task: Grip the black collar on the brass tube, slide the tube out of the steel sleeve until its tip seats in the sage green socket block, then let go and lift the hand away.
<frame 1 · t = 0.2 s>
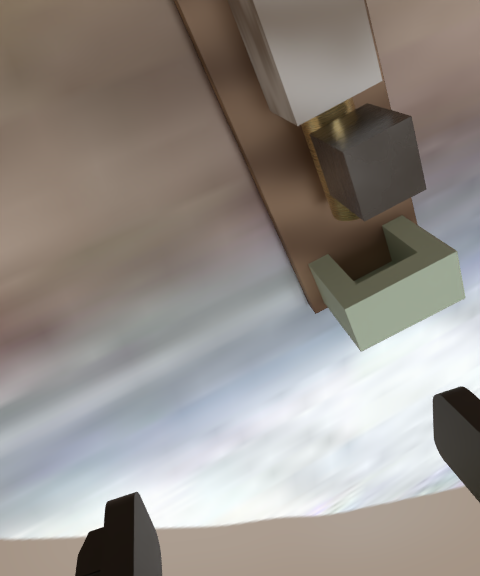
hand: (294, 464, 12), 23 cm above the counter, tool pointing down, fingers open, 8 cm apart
socket block: (382, 280, 32), point 5 cm above the counter
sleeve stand: (312, 132, 30), on the counter
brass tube: (332, 84, 23), point 6 cm above the counter, slide at 0.0 cm
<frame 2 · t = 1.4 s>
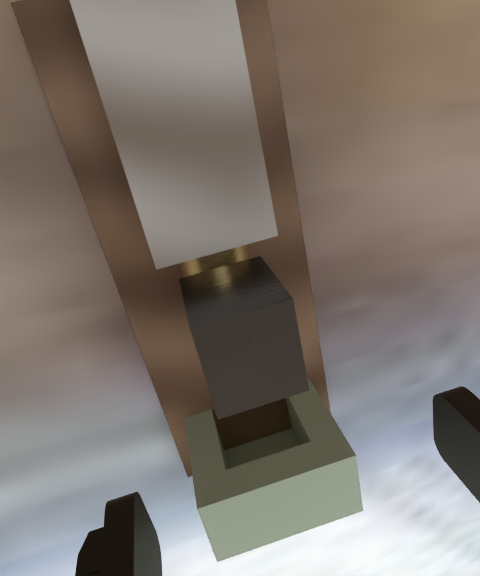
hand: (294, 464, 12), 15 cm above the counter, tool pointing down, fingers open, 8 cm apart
socket block: (267, 461, 25), point 5 cm above the counter
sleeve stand: (211, 263, 25), on the counter
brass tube: (211, 226, 17), point 6 cm above the counter, slide at 0.0 cm
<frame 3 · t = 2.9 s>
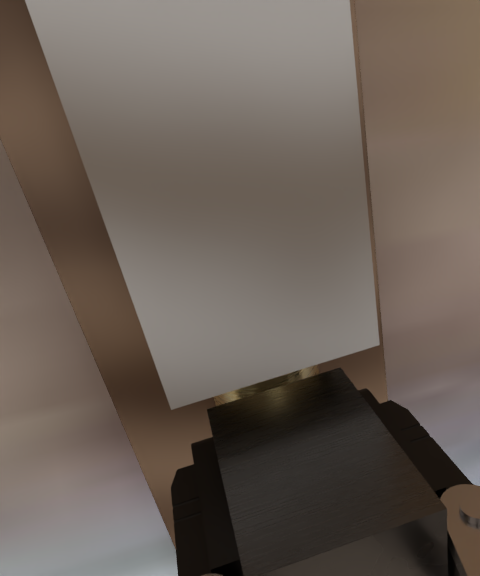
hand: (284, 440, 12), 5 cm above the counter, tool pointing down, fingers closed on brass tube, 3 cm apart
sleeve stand: (243, 343, 17), on the counter
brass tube: (266, 333, 10), point 6 cm above the counter, slide at 0.0 cm, touching gripper
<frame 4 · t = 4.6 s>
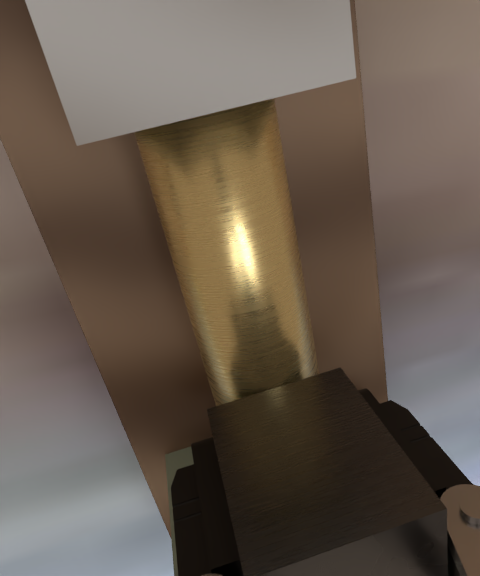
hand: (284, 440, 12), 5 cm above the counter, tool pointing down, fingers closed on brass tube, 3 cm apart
socket block: (302, 530, 15), point 5 cm above the counter
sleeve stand: (208, 200, 15), on the counter
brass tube: (266, 333, 10), point 6 cm above the counter, slide at 5.7 cm, touching gripper
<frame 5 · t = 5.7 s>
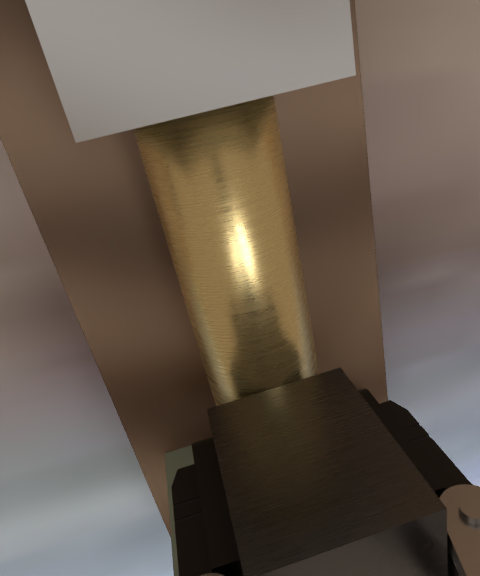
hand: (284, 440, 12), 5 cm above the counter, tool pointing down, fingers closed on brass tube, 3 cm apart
socket block: (302, 529, 15), point 5 cm above the counter
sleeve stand: (208, 198, 15), on the counter
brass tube: (266, 333, 10), point 6 cm above the counter, slide at 5.8 cm, touching gripper
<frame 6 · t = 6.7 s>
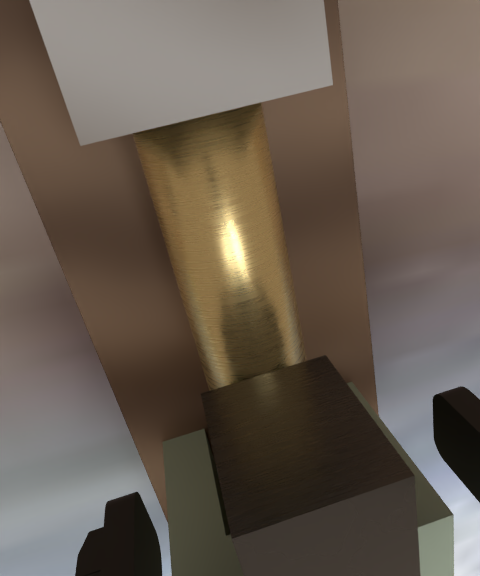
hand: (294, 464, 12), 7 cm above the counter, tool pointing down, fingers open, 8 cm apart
socket block: (292, 513, 16), point 5 cm above the counter
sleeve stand: (203, 198, 16), on the counter
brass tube: (255, 321, 11), point 6 cm above the counter, slide at 5.8 cm
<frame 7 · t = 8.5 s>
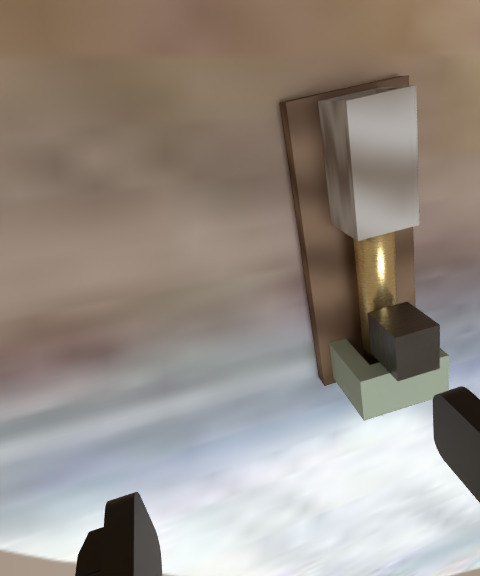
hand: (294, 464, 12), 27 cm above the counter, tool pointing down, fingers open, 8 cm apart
socket block: (386, 367, 40), point 5 cm above the counter
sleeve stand: (353, 245, 40), on the counter
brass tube: (389, 288, 36), point 6 cm above the counter, slide at 5.8 cm
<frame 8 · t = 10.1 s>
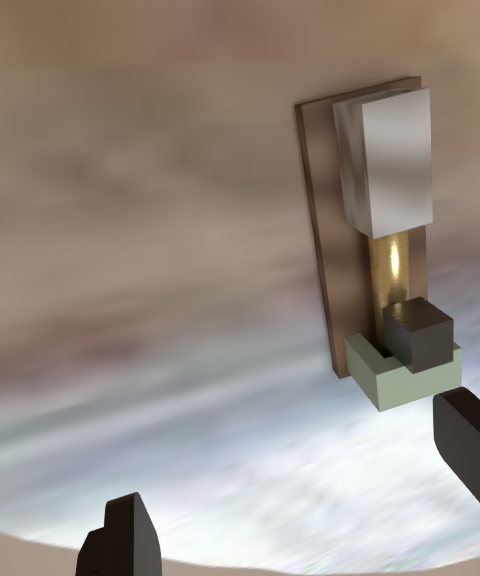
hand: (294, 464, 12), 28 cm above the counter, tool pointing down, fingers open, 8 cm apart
socket block: (400, 360, 42), point 5 cm above the counter
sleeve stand: (367, 242, 41), on the counter
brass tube: (404, 284, 37), point 6 cm above the counter, slide at 5.8 cm
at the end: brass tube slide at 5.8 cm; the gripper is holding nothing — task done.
